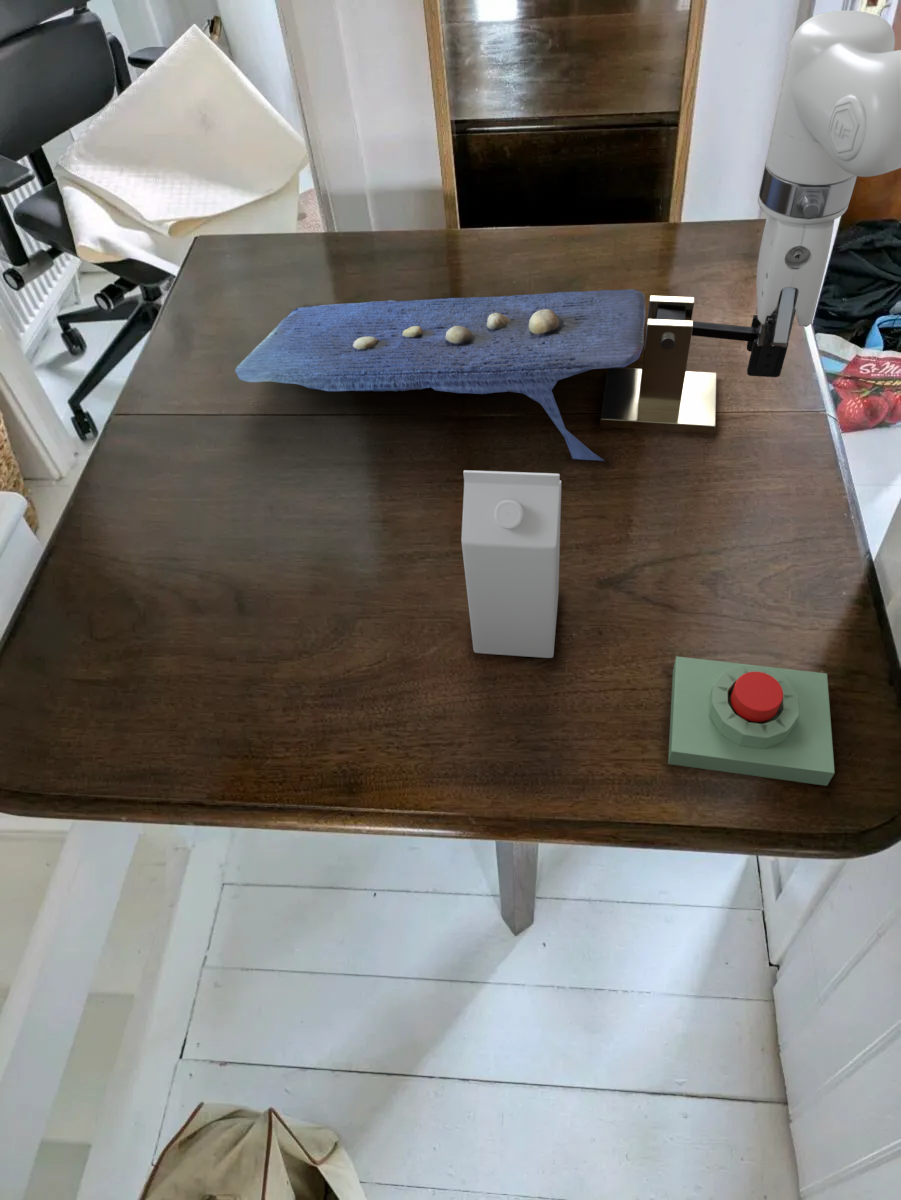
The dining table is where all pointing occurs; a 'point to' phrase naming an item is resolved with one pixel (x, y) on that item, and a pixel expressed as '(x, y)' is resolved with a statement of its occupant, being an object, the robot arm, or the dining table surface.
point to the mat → (455, 345)
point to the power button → (756, 696)
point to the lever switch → (714, 327)
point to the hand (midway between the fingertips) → (762, 361)
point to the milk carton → (512, 560)
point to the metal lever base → (662, 380)
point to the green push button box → (750, 724)
